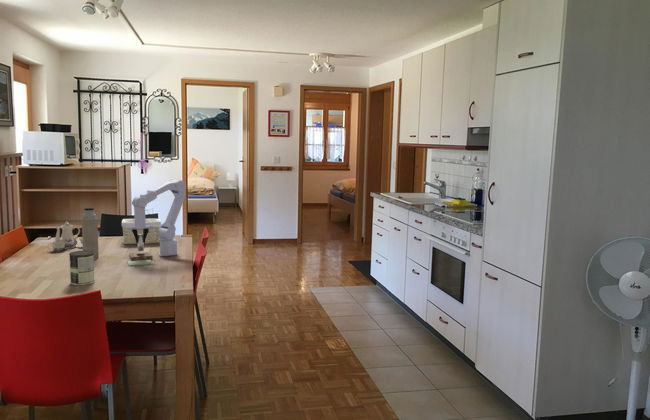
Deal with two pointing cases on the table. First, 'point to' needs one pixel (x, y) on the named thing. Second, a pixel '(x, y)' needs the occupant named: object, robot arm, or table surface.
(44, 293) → the table surface
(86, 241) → the thermos bottle
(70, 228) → the chinaware
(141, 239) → the steel peg
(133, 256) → the eye block
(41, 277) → the table surface
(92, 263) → the coffee can
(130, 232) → the storage basket
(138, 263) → the sage mat
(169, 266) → the table surface
